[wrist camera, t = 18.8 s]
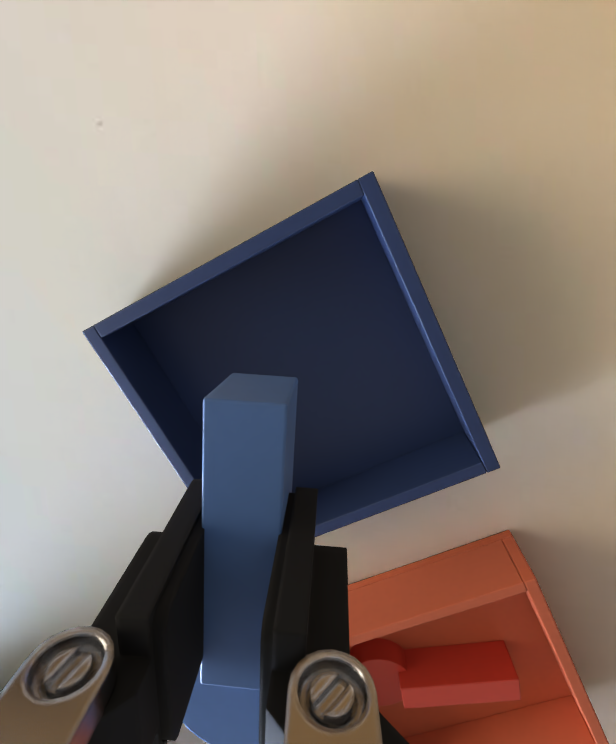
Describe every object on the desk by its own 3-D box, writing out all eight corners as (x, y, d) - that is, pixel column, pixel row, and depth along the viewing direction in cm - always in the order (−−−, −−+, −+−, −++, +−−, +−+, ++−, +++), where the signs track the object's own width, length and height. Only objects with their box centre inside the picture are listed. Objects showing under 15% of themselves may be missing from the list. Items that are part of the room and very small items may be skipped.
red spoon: (502, 625, 25) (518, 664, 23) (507, 672, 26) (522, 714, 24) (341, 640, 27) (341, 679, 24) (352, 685, 28) (353, 726, 25)
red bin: (509, 529, 24) (536, 578, 20) (580, 689, 27) (613, 754, 24) (296, 602, 26) (289, 656, 23) (385, 740, 30) (390, 804, 27)
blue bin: (367, 180, 19) (373, 170, 15) (476, 431, 22) (500, 468, 19) (121, 315, 21) (81, 331, 18) (252, 520, 25) (239, 566, 21)
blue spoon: (186, 369, 10) (143, 394, 8) (344, 380, 10) (348, 408, 8) (186, 695, 12) (151, 792, 10) (319, 709, 12) (315, 811, 10)
